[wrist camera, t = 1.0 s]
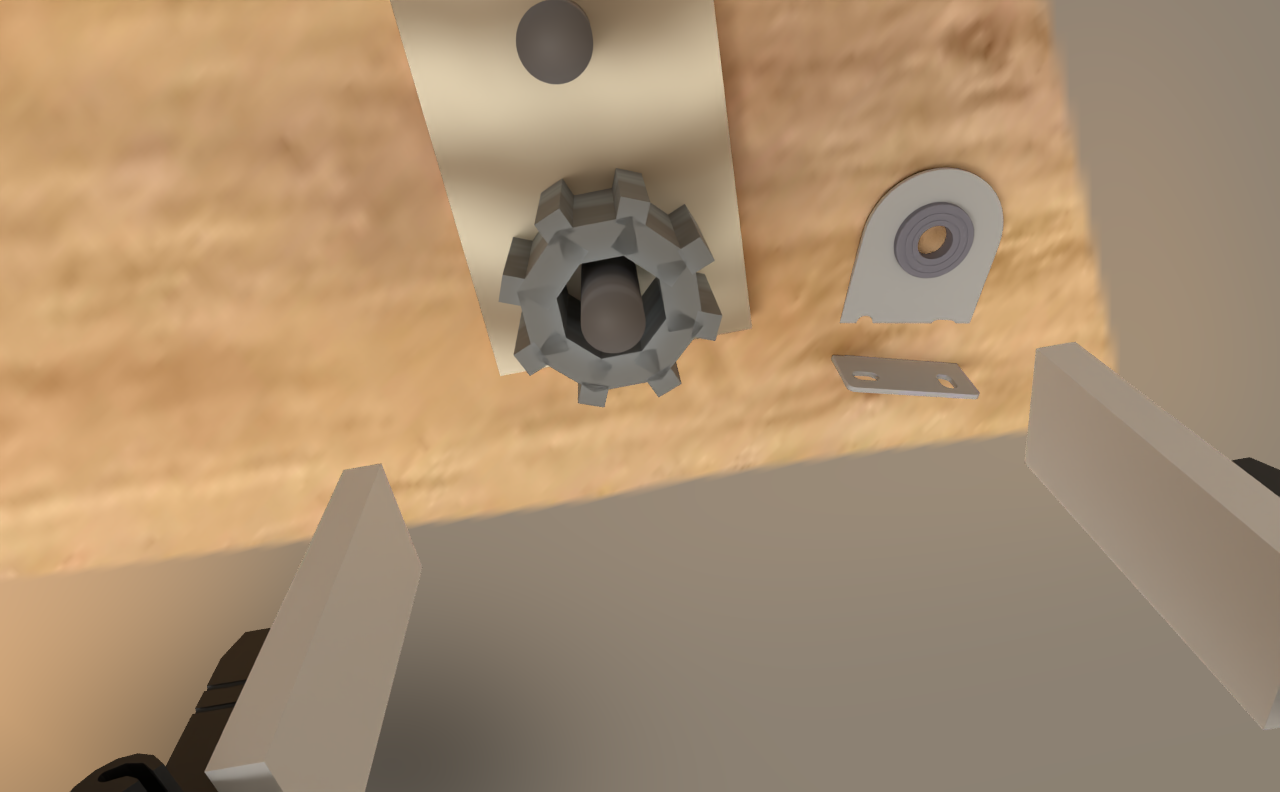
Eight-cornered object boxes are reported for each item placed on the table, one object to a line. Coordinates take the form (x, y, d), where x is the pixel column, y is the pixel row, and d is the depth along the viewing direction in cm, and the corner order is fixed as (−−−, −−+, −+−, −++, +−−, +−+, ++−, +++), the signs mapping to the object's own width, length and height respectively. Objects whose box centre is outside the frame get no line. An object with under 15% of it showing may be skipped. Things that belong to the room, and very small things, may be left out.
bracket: (1014, 170, 36) (1054, 188, 32) (950, 367, 40) (980, 399, 37) (876, 157, 35) (904, 175, 32) (827, 359, 40) (848, 391, 36)
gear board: (381, -59, 29) (317, -74, 22) (693, -123, 29) (728, -158, 22) (503, 362, 38) (484, 448, 31) (746, 316, 38) (783, 392, 31)
